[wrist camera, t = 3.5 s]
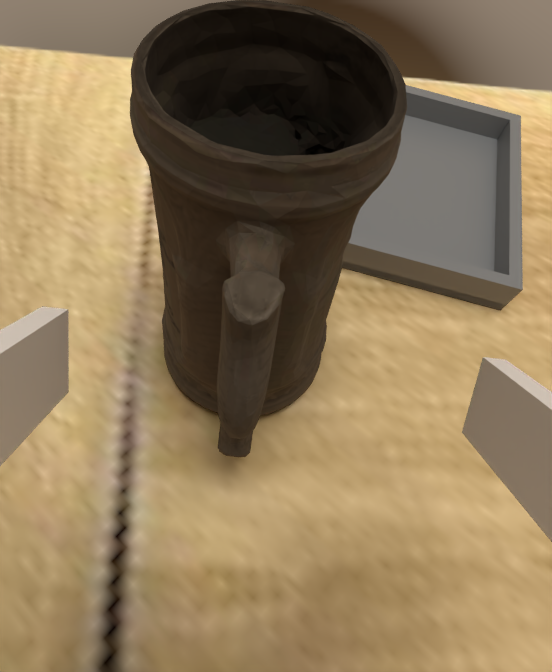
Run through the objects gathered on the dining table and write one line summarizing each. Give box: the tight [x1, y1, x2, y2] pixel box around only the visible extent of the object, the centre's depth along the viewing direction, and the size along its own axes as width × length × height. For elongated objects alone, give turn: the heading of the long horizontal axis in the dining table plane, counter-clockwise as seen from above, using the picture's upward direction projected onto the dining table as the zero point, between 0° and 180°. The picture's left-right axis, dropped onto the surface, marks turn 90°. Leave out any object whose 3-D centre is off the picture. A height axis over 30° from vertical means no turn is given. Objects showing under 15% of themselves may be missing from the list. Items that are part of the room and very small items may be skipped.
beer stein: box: [130, 0, 407, 457], centre depth 24 cm, size 15×11×20 cm
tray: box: [342, 85, 522, 310], centre depth 41 cm, size 16×20×3 cm
